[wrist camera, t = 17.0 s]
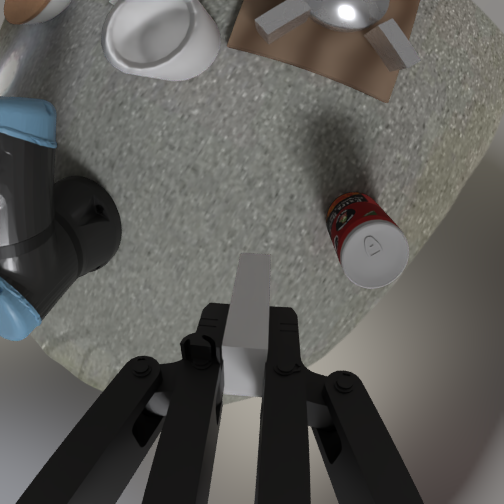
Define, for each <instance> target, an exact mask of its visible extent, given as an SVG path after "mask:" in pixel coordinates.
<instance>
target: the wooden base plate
mask: <svg viewBox="0 0 504 504" xmlns="http://www.w3.org/2000/svg"><path fill="white" fill-rule="evenodd" d="M284 1H286V0H244V1H243V3H242V6H241V9H240V11H239V14H238V16H237V19H236V22H235V25H234V27H233V30H232V33H231V36H230V38H229V41H228V44H227V46H228V47H229V48H233V49H237V50H241V51H245V52H249V53H253V54H256V55H260V56H264V57H267V58H271V59H274V60H277V61H281V62H284V63H287V64H290V65H293V66H296V67H299V68H302V69H305V70H308V71H311V72H313V73H316V74H319V75H321V76H324V77H327V78H329V79H332V80H334V81H337V82H339V83H342V84H344V85H347V86H349V87H351V88H354V89H356V90H358V91H360V92H363V93H365V94H367V95H369V96H371V97H374V98H376V99H378V100H380V101H382V102H384V103H388V102H389V99H390V96H391V93H392V90H393V88H394V85H395V82H396V79H397V76H398V73H399V70H396V71H391V72H389V70H388V69H387V67H386V66H385V64H384V63H383V61H382V60H381V58H380V57H379V55H378V54H377V53H376V51H375V50H374V48H373V47H372V46H371V44H370V43H369V42H368V40H367V39H366V38H365V36H364V35H365V34H366V33H368V32H369V31H370V30H372V29H373V28H375V27H376V26H378V25H380V24H382V23H384V22H386V21H388V20H390V19H392V18H393V19H394V21H395V22H396V23H397V25H398V26H399V27H400V29H401V30H402V32H403V33H404V35H405V36H406V37H407V39H408V40H409V38H410V34H411V31H412V28H413V24H414V21H415V17H416V13H417V10H418V6H419V2H420V0H390V2H389V7H388V10H387V12H386V13H385V15H384V16H383V17H382V18H381V19H380V20H379V21H377V22H376V23H375V24H373V25H372V26H370V27H369V28H367V29H364V30H361V31H358V32H338V31H334V30H330V29H327V28H325V27H323V26H321V25H319V24H317V23H315V22H314V21H312V20H311V19H310V18H309V17H308V19H307V21H306V22H305V23H303V24H301V25H300V26H298V27H296V28H295V29H293V30H291V31H290V32H288V33H286V34H285V35H283V36H282V37H280V38H278V39H277V40H275V41H274V42H272V43H271V44H268V43H267V42H266V41H265V40H264V39H263V38H262V37H261V35H260V34H259V33H258V32H257V29H256V25H255V19H256V18H258V17H259V16H261V15H263V14H264V13H266V12H267V11H269V10H271V9H272V8H274V7H276V6H277V5H279V4H281V3H283V2H284Z"/></svg>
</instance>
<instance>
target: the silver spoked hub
mask: <svg viewBox="0 0 504 504" xmlns="http://www.w3.org/2000/svg"><path fill="white" fill-rule="evenodd" d="M389 2H390V0H286V1H284V2H283V3H281V4H279V5H277V6H276V7H274V8H272V9H271V10H269V11H267V12H266V13H264V14H263V15H261V16H259V17H258V18H256V19H255V25H256V29H257V32H258V33H259V34H260V35H261V37H262V38H263V39H264V40H265V41H266V42H267V43H268V44H271V43H272V42H274V41H275V40H277V39H278V38H280V37H282V36H283V35H285V34H286V33H288V32H290V31H291V30H293V29H295V28H296V27H298V26H300V25H301V24H303V23H305V22H306V21H307V19H308V17H309V18H310V19H311V20H312V21H314V22H315V23H317V24H319V25H321V26H323V27H325V28H327V29H330V30H334V31H338V32H358V31H361V30H364V29H367V28H369V27H370V26H372V25H373V24H375V23H376V22H377V21H379V20H380V19H381V18H382V17H383V16H384V15H385V13H386V12H387V10H388V7H389ZM364 36H365V38H366V39H367V40H368V42H369V43H370V44H371V46H372V47H373V48H374V50H375V51H376V53H377V54H378V55H379V57H380V58H381V60H382V61H383V63H384V64H385V66H386V67H387V69H388V70H389V72H391V71H396V70H401V69H406V68H409V67H410V66H412V65H414V64H416V63H418V62H419V61H421V59H420V57H419V56H418V54H417V52H416V51H415V49H414V48H413V46H412V45H411V43H410V42H409V40H408V39H407V37H406V36H405V35H404V33H403V32H402V30H401V29H400V27H399V26H398V25H397V23H396V22H395V21H394V19H393V18H392V19H390V20H388V21H386V22H384V23H382V24H380V25H378V26H376V27H375V28H373V29H372V30H370V31H369V32H368V33H366V34H365V35H364Z"/></svg>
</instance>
